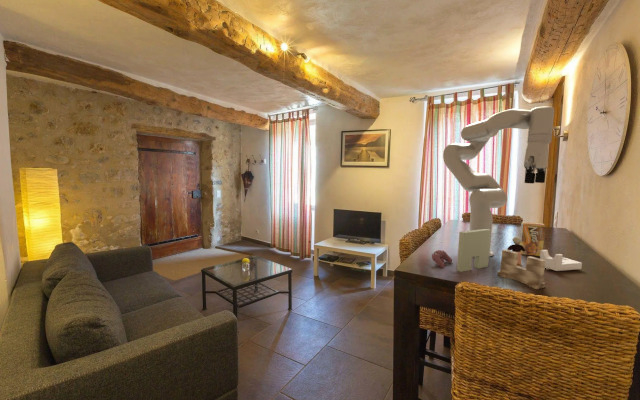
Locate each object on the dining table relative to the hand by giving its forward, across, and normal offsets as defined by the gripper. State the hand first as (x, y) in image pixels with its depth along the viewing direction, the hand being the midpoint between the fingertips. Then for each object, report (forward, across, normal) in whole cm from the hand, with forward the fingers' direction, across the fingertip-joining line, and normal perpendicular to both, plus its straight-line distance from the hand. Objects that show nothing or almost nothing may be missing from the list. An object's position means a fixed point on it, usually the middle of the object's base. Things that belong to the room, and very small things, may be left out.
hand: (534, 182), depth 115 cm
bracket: (+36, -14, +7) cm, 40 cm away
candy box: (+36, -26, -8) cm, 45 cm away
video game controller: (+36, +25, -22) cm, 49 cm away
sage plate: (+36, +18, -12) cm, 42 cm away
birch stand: (+36, +16, +4) cm, 40 cm away
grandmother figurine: (+36, -2, -5) cm, 36 cm away
